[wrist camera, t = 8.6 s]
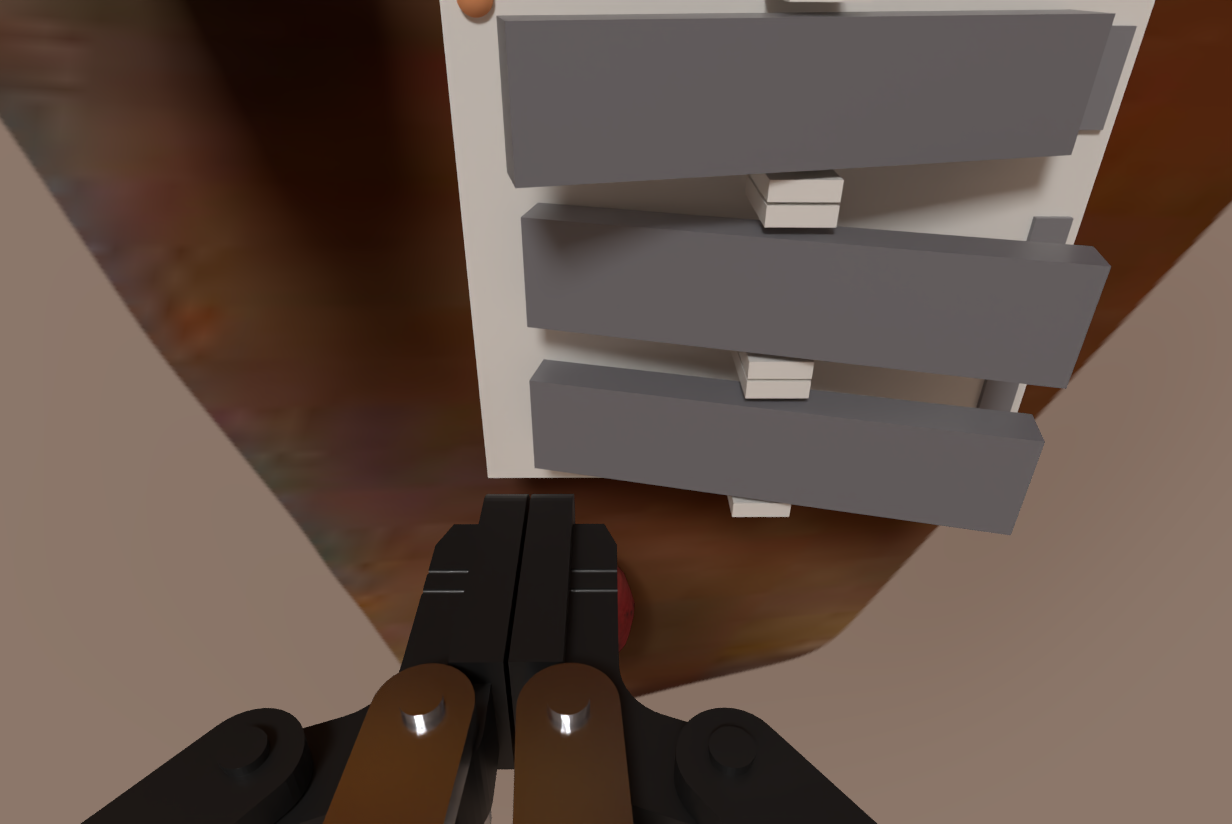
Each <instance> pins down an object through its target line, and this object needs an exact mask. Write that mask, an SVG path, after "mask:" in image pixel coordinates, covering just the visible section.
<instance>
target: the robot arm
mask: <svg viewBox="0 0 1232 824" xmlns="http://www.w3.org/2000/svg"><path fill="white" fill-rule="evenodd" d="M497 769H514V799H513V824H877V823H876V822H875V821H874V820H873V819H871V818H870V817H869V816H868V815H867V814H866V813H865V812H864V811H863V810H861V809H860V808H859V807H858V806H857V805H856V804H855V803H854V802H853V801H852V800H850V799H849V798H848V797H847V796H846V795H845V794H844V793H843V792H842V791H841V790H839V789H838V788H837V787H836V786H835V785H834V784H833V783H832V782H831V781H829V780H828V779H827V778H826V777H825V776H824V775H823V774H822V773H821V772H820V771H819V770H817V769H816V768H815V767H814V766H813V765H812V764H811V763H810V762H809V761H807V760H806V759H805V758H804V757H803V756H802V755H801V754H800V753H799V752H798V751H796V750H795V749H794V748H793V747H792V746H791V745H790V744H789V743H787V742H786V741H785V740H784V739H783V738H782V737H781V736H780V735H779V734H778V733H777V732H775V731H774V730H773V729H772V728H771V727H770V726H769V725H768V724H766V723H765V722H764V721H763V720H761V719H760V718H758V717H756V716H754V715H753V714H750V713H748V712H745V711H742V710H738V709H734V708H715V709H711V710H707V711H704V712H701V713H699V714H698V715H696V716H694V717H693V718H692V719H691V720H689V722H685V721H682V720H679V719H675V718H672V717H669V716H666V715H662V714H660V713H657V712H654V711H652V710H650V709H649V708H647V707H645V706H644V705H642V704H641V703H640V702H638V701H637V700H636V699H635V698H634V697H633V696H632V695H631V694H630V693H629V691H628V690H627V689H626V687H625V685H624V683H623V681H622V678H621V675H620V671H619V644H618V587H617V544H616V543H615V541H614V539H613V538H612V536H611V535H610V533H609V531H608V530H607V528H606V526H605V525H604V524H575V502H574V494H532V495H531V500H530V496H529V494H487V495H486V496H485V498H484V503H483V507H482V512H481V516H480V521H479V524H454V525H453V526H452V527H451V529H450V530H449V531H448V532H447V533H446V534H445V535H444V537H443V538H442V539H441V540H440V541H439V542H438V543H437V544H436V546H435V550H434V553H433V557H432V560H431V564H430V567H429V574H427V578H426V581H425V585H424V588H423V594H422V595H421V599H420V602H419V606H418V609H417V612H416V616H415V619H414V623H413V626H412V630H411V633H410V637H409V640H408V644H407V647H406V651H405V654H404V658H403V661H402V665H401V668H400V670H399V673H397V674H396V675H394V676H393V677H391V678H390V679H389V680H387V681H386V682H385V683H384V684H383V685H382V686H381V687H380V689H379V690H378V691H377V693H376V694H375V696H374V698H373V700H372V702H371V704H370V705H368V706H366V707H365V708H363V709H361V710H359V711H357V712H355V713H352V714H350V715H347V716H344V717H341V718H337V719H334V720H330V721H327V722H323V723H320V724H316V725H313V726H309V727H306V728H302V726H301V724H300V722H299V721H298V720H297V719H296V718H295V717H294V716H293V715H291V714H290V713H287V712H285V711H283V710H279V709H274V708H262V709H254V710H250V711H246V712H243V713H240V714H237V715H235V716H233V717H231V718H229V719H227V720H225V721H224V722H222V723H221V724H219V725H217V726H216V727H215V728H213V729H212V730H210V731H209V732H208V733H206V734H205V735H203V736H202V737H201V738H199V739H198V740H196V741H195V742H194V743H192V744H191V745H190V746H188V747H187V748H185V749H184V750H183V751H181V752H180V753H179V754H177V755H176V756H174V757H173V758H171V759H170V760H169V761H167V762H166V763H164V764H163V765H162V766H160V767H159V768H158V769H156V770H155V771H153V772H152V773H151V774H149V775H148V776H146V777H145V778H144V779H142V780H141V781H139V782H138V783H137V784H135V785H134V786H133V787H131V788H130V789H128V790H127V791H126V792H124V793H123V794H121V795H120V796H119V797H117V798H116V799H115V800H113V801H112V802H110V803H109V804H107V805H106V806H105V807H103V808H102V809H101V810H99V811H98V812H96V813H95V814H94V815H92V816H91V817H89V818H88V819H87V820H85V821H84V822H82V823H81V824H491V819H492V817H491V806H492V802H493V795H494V788H495V780H496V772H497Z"/></svg>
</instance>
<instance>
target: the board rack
mask: <svg viewBox="0 0 1232 824" xmlns="http://www.w3.org/2000/svg"><path fill="white" fill-rule="evenodd" d="M1154 2H1155V0H440V9H441V19H442V28H443V38H444V48H445V58H446V68H447V78H448V88H449V97H450V107H451V117H452V127H453V137H454V147H455V156H456V166H457V176H458V186H459V196H460V206H461V215H462V225H463V235H464V245H465V255H466V265H467V275H468V284H469V294H470V304H471V314H472V324H473V334H474V343H475V353H476V363H477V373H478V383H479V393H480V402H481V412H482V422H483V432H484V442H485V452H486V462H487V471H488V478H602V477H595V476H587V475H580V474H573V473H566V472H559V471H552V470H545V469H538V468H535V466H534V450H533V433H532V417H531V401H530V384H529V380H530V379H531V377H532V376H533V374H534V373H535V371H536V370H537V368H538V367H539V365H540V364H541V362H542V361H543V359H546V360H555V361H564V362H573V363H582V364H590V365H599V366H608V367H617V368H626V369H635V370H644V371H652V372H661V373H670V374H679V375H688V376H697V377H706V378H714V379H723V380H732V381H740V383H741V386H742V389H743V393H744V396H745V398H809V392H810V389H812V390H821V391H830V392H838V393H847V394H856V395H865V396H874V397H883V398H892V399H901V400H909V401H918V402H927V403H936V404H945V405H954V406H963V407H971V408H980V409H989V410H998V411H1007V412H1016V413H1017V412H1018V409H1019V406H1020V403H1021V400H1022V397H1023V394H1024V391H1025V388H1026V385H1027V384H1021V383H1013V382H1004V381H995V380H986V379H977V378H969V377H960V376H951V375H942V374H934V373H925V372H916V371H907V370H899V369H890V368H881V367H872V366H864V365H855V364H846V363H837V362H829V361H820V360H811V359H802V358H794V357H785V356H776V355H767V354H758V353H750V352H741V351H732V350H723V349H715V348H706V347H697V346H688V345H680V344H671V343H662V342H653V341H645V340H636V339H627V338H618V337H610V336H601V335H592V334H583V333H575V332H566V331H557V330H548V329H539V328H531V327H527V315H526V298H525V282H524V265H523V248H522V232H521V217H522V216H523V215H524V214H525V213H526V212H528V211H529V210H530V209H531V208H532V207H533V206H535V205H536V204H537V203H550V204H562V205H575V206H588V207H600V208H613V209H626V210H638V211H651V212H664V213H676V214H689V215H702V216H714V217H727V218H740V219H753V220H760V221H761V222H762V224H763V226H764V227H801V228H836V226H841V227H854V228H867V229H879V230H892V231H905V232H917V233H930V234H943V235H956V236H968V237H981V238H994V239H1006V240H1019V241H1032V242H1044V243H1057V244H1070V245H1073V244H1074V241H1075V238H1076V235H1077V232H1078V229H1079V226H1080V223H1081V220H1082V217H1083V214H1084V211H1085V208H1086V205H1087V202H1088V199H1089V196H1090V193H1091V190H1092V187H1093V184H1094V181H1095V178H1096V175H1097V172H1098V170H1099V167H1100V164H1101V161H1102V158H1103V155H1104V152H1105V149H1106V146H1107V143H1108V140H1109V137H1110V134H1111V131H1112V128H1113V125H1114V122H1115V119H1116V116H1117V113H1118V110H1119V107H1120V104H1121V101H1122V98H1123V95H1124V92H1125V89H1126V86H1127V83H1128V80H1129V77H1130V74H1131V71H1132V68H1133V65H1134V62H1135V59H1136V56H1137V53H1138V50H1139V47H1140V44H1141V41H1142V38H1143V35H1144V32H1145V29H1146V26H1147V23H1148V20H1149V17H1150V14H1151V11H1152V8H1153V5H1154ZM1066 9H1071V10H1082V11H1093V12H1104V13H1116V14H1115V17H1114V20H1113V24H1112V27H1111V30H1110V33H1109V36H1108V39H1107V43H1106V46H1105V49H1104V52H1103V55H1102V59H1101V62H1100V65H1099V68H1098V71H1097V75H1096V78H1095V81H1094V84H1093V87H1092V91H1091V94H1090V97H1089V100H1088V103H1087V107H1086V110H1085V113H1084V116H1083V119H1082V123H1081V126H1080V129H1079V132H1078V135H1077V139H1076V142H1075V145H1074V148H1073V151H1072V154H1071V155H1065V156H1048V157H1031V158H1014V159H998V160H981V161H964V162H947V163H931V164H914V165H897V166H881V167H864V168H847V169H830V170H814V171H797V172H780V173H763V174H747V175H730V176H713V177H696V178H680V179H663V180H646V181H629V182H613V183H596V184H579V185H562V186H546V187H529V188H515V187H514V185H513V183H512V181H511V179H510V177H509V175H508V173H507V167H506V152H505V137H504V123H503V108H502V93H501V78H500V63H499V49H498V34H497V19H496V16H502V15H596V14H690V13H784V12H878V11H972V10H1066ZM727 497H728V501H729V506H730V510H731V515H732V517H789V515H790V509H791V504H786V503H779V502H772V501H765V500H758V499H751V498H743V497H736V496H729V495H727Z"/></svg>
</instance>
